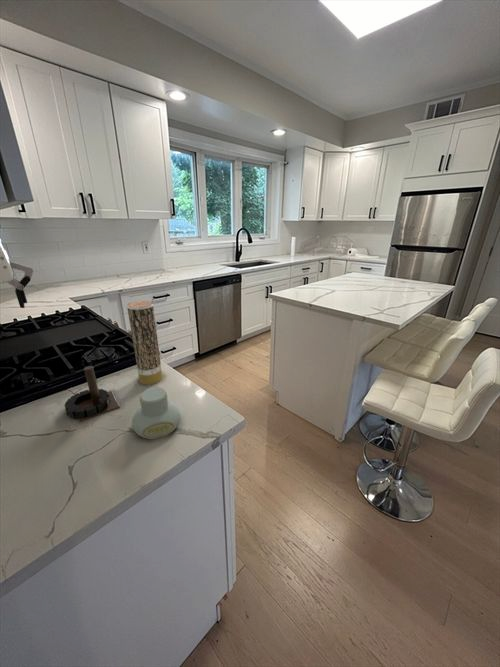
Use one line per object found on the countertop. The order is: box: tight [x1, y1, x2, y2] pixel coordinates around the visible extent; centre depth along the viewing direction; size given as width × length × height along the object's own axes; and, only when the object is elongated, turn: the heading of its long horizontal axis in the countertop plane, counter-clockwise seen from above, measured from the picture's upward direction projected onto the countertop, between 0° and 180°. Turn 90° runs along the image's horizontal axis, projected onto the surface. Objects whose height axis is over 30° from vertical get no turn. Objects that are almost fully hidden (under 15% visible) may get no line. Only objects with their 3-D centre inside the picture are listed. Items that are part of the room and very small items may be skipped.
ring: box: [64, 388, 110, 420], centre depth 72 cm, size 10×10×2 cm
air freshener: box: [131, 387, 181, 440], centre depth 65 cm, size 11×8×10 cm
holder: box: [77, 365, 121, 423], centre depth 71 cm, size 9×9×12 cm
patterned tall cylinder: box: [126, 300, 163, 385], centre depth 82 cm, size 7×7×25 cm
